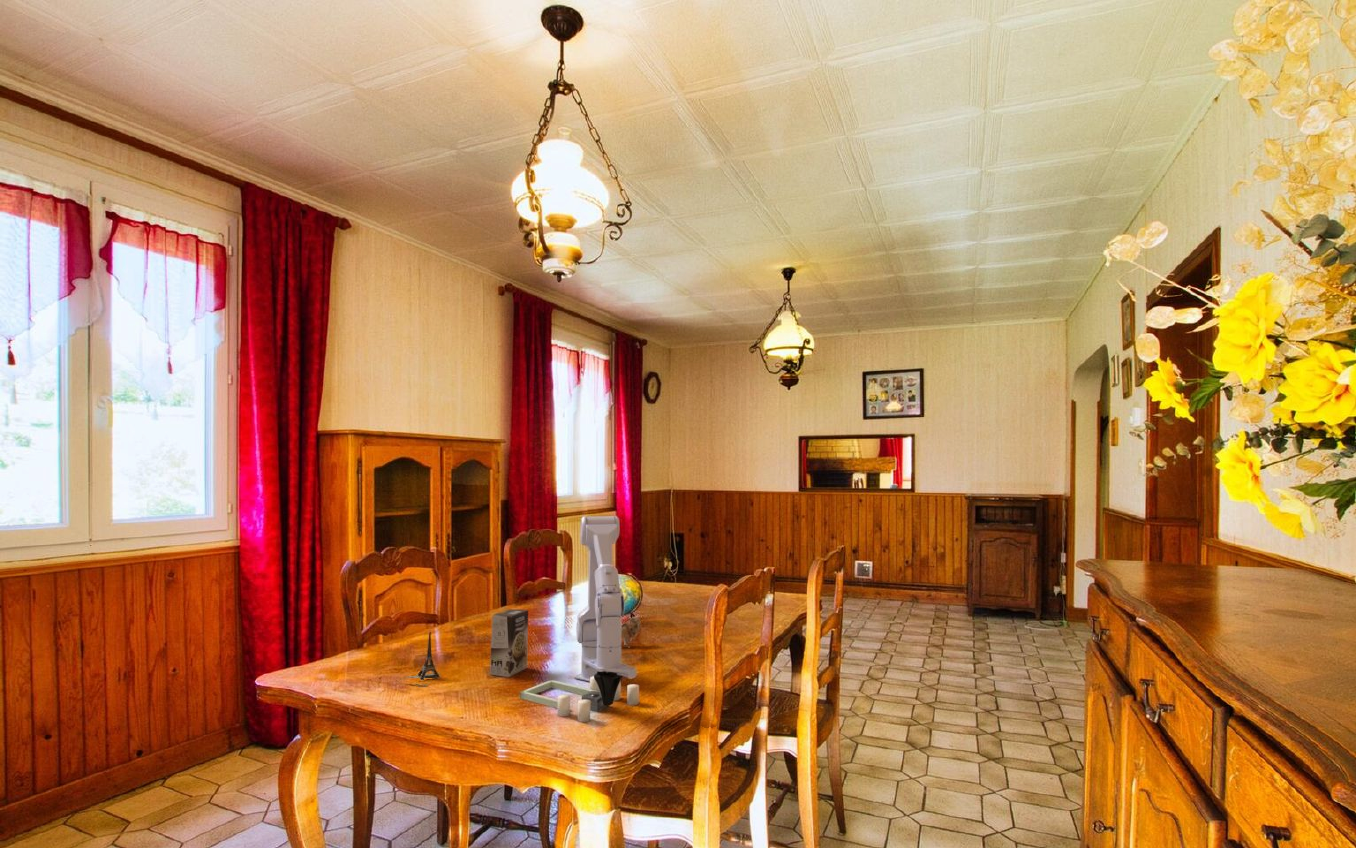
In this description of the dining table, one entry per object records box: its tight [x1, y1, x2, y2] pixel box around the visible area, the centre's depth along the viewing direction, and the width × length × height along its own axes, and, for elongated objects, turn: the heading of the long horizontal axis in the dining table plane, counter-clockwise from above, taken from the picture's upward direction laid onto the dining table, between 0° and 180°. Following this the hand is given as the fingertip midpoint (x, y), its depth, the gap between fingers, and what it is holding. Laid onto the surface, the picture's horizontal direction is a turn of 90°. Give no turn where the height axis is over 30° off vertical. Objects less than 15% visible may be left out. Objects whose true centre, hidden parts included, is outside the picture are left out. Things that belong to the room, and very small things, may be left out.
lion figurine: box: [621, 616, 641, 649], centre depth 207 cm, size 15×5×9 cm, turn 105°
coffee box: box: [489, 608, 529, 678], centre depth 182 cm, size 9×6×16 cm
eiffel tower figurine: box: [404, 631, 442, 687], centre depth 177 cm, size 15×10×13 cm
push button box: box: [581, 691, 608, 713], centre depth 155 cm, size 4×4×3 cm
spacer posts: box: [557, 676, 640, 723], centre depth 154 cm, size 17×14×4 cm
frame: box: [519, 679, 595, 709], centre depth 161 cm, size 11×15×2 cm
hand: (608, 704), depth 153 cm, fingers closed
